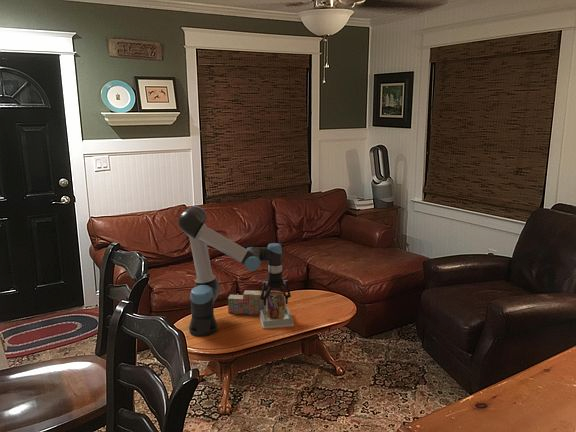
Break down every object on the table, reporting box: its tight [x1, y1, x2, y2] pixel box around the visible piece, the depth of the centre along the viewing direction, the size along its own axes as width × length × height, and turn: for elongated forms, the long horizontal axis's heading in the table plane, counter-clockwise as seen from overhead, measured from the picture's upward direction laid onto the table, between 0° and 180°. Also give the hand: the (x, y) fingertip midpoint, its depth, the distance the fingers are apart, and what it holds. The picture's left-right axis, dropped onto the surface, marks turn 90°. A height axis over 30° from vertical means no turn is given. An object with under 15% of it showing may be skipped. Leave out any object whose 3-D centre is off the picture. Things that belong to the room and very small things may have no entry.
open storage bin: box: [258, 306, 295, 329], centre depth 278 cm, size 17×17×4 cm
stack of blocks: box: [227, 290, 267, 316], centre depth 290 cm, size 21×6×12 cm, turn 83°
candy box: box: [267, 289, 285, 319], centre depth 277 cm, size 9×4×15 cm, turn 71°
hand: (275, 309), depth 277 cm, fingers closed on candy box, 9 cm apart
